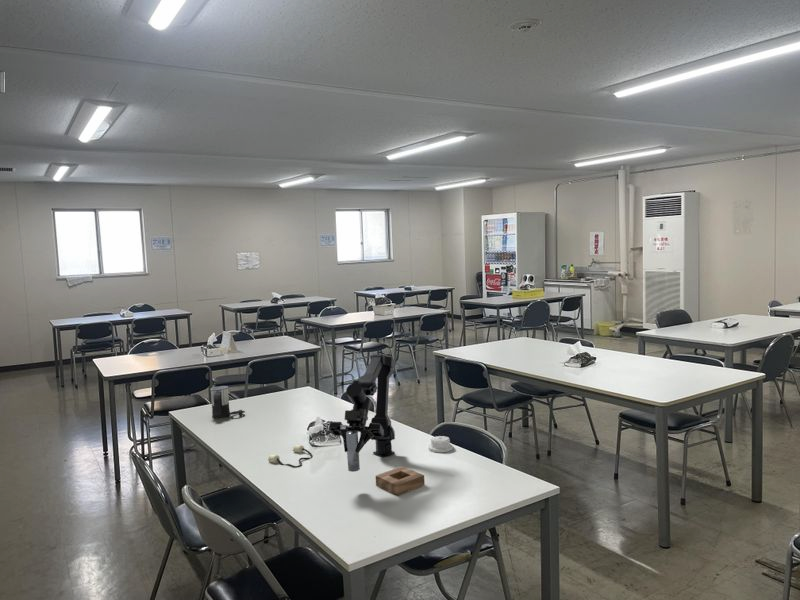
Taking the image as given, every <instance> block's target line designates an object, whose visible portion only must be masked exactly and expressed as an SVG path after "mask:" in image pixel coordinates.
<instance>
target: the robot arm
mask: <svg viewBox="0 0 800 600" xmlns="http://www.w3.org/2000/svg"><path fill="white" fill-rule="evenodd" d="M395 367H396V360H395V358H393V356H387V355H385V354H375V353H374V354H372V355H371V356H370V361H369V364H368V366H367V368H366V369H365V372H364V374H363V375H360V376H359V377H358V379H357V380H353V382H352V383H350V384H349V385H348V386H347V387H346V389H345V392H346V394H347V397H348V399H349V400H350V402H351V403H352V404H353V405H352V409H351V410H347V409H346V410H344V411H345V412H344V421H346V423H347V425H346V424H343V423H342V421H331V422H330V423H329V424H328V425H329V426H328V429H329V431H330V432H331V434H332V435H333V436H340V437H341V438H342V441H343V449H344V452H345V453H347V442H346V432H348V431H357V432H358V433H360V436H359V438H358V446H357V453H359V454H360V452H361V450H362V449H363V448H364V446H365V445H366V444H367V443H368V442H369V440H371V441H375V451H372V454H373V455H375V456H378V457H380V458H384V457H388V456H391V455H394V454H395V451H394V450H393V449H392V441H393V440H395V439H396V437H395V436H396V433H395V429H394V428H393V425H392V421H391V419H390V416H389V415H388V413H389V410H388V409H389V392H390V391H389V390H390V389H389V388H390V378H391V377H392V375H393V374H394V371H395ZM376 380H377V383H376ZM375 394H376V404H375V405H376V407H375V408H376V409H375V415H374V416H373V417H372V418H371V421H370V422H369V423H368V426H366V425H367V421H368V420H369V417H368V415H369V410H370V406H372V404H371V403H372V402H371V399H370V397H371V396H372V397H373V396H374V395H375Z"/></svg>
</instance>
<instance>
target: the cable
mask: <svg viewBox="0 0 800 600" xmlns="http://www.w3.org/2000/svg"><path fill="white" fill-rule="evenodd" d="M292 452H293V453H295V454H301V453H304V452H305V453H308V455H310V457H300V458H299V459H298V463H299V464H298V465H293V464H290V463H283V462H282V461H281V460H280V456H279V455H277V454H270V455H268V460H267V461H268V463H271V464H277V463H279V464H280V465H281V466H288V467H291V468H294V469H297V468H300V467H302V466H303V463H302V461H303V460H310V459H312V458H313V454H312V453H311V452H310V451H309V450H308V449H306V448H305V447H304V445H302V444H300V445H299V444H296V445H294V446H293V449H292Z"/></svg>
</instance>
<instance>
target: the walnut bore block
mask: <svg viewBox="0 0 800 600" xmlns="http://www.w3.org/2000/svg"><path fill="white" fill-rule="evenodd" d="M425 483H426V482H425V474H422V473H419V472H417V471H415V470H413V469H410V468H407V467H406V466H402V465H401V466H398V467H396V468H393V469H390V470H388V471H384V472H382V473H379V474H376V475H375V486H377V487H379V488H381V489H382V490H383V489H384V490H385V491H387V492H389V493H391V494H394V495H395V496H400V495H402V494H405V493H408V492H410V491H414V490H416V489H418V488H420V487H423V486H425Z"/></svg>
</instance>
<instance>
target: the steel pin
mask: <svg viewBox="0 0 800 600" xmlns="http://www.w3.org/2000/svg"><path fill="white" fill-rule="evenodd" d="M346 442H347V452H346V457H347V471H349V472H353V473H354V472H358V471H360V470H361V469H360V468H361V467H360V452H359V453H357V446H358V443H359V432H357V431H348V432H346Z"/></svg>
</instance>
